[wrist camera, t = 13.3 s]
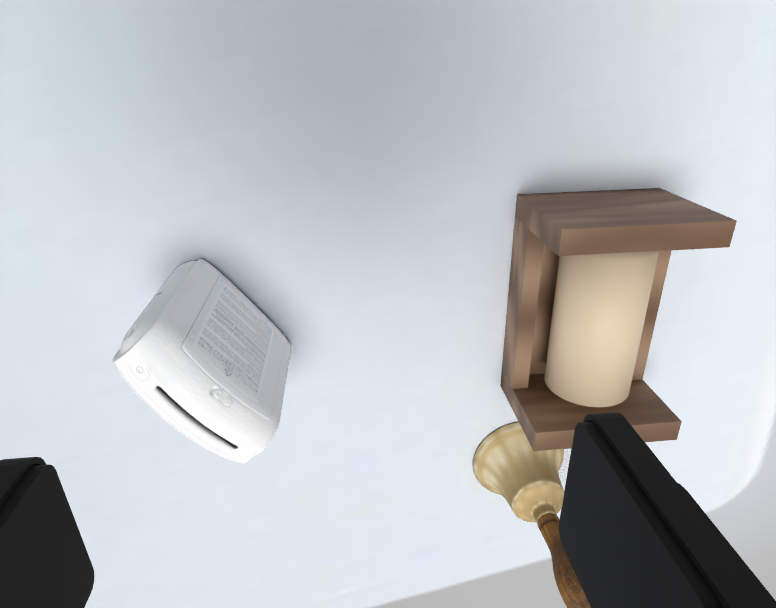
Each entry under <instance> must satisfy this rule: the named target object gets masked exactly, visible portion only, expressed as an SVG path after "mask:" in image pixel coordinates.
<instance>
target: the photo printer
mask: <svg viewBox="0 0 776 608" xmlns="http://www.w3.org/2000/svg"><path fill="white" fill-rule="evenodd" d="M290 353H291V346H290V344H289V342H288V341H287V339H286V338H285V336H284V335H283V334H282V333H281V332H280V330H279V329H278V328H277V327H276V326H275V325H274V324H273V323H272V322H271V321H270V320H269V319H268V318H267V317H266V316H265V315H264V314H263V313H262V312H261V311H260V310H259V309H258V308H257V307H256V306H255V305H254V304H253V303H252V302H251V301H250V300H249V299H248V298H247V297H246V296H245V295H244V294H243V293H241V292H240V291H239V290H238V289H237V288H236V287H235V286H234V285H233V284H232V283H231V282H230V281H229V280H228V279H227V278H226V277H225V276H223V275H222V274H221V273H220V272H219V271H218V270H217V269H215V268H214V267H213V266H212V265H210V264H209V263H208V262H206V261H205V260H203V259H199V260H198V261H188V262H185V263H183V264H181V265H180V266H178V267H177V268H176V269H175V270H174V271H173V272H172V274H171V275H170V276H169V278H168V279H167V280H166V282H165V283H164V284H163V285H162V287H161V288H160V289H159V291H158V292H157V293H156V295H155V296H154V297H153V299H152V300H151V301H150V303H149V304H148V305H147V307H146V308H145V309H144V311H143V312H142V313H141V315H140V316H139V317H138V319H137V320H136V321H135V323H134V324H133V325H132V327H131V328H130V329H129V331H128V332H127V333H126V335H125V337H124V339H123V341H122V344H121V348H120V349H119V350H118V352H117V353H116V355H115V356H114V358H113V361H112V362H113V364H114V366H115V367H116V369H117V370H118V372H119V373H120V375H121V376H122V378H123V379H124V380H125V382H126V383H127V384H128V385H129V386H130V388H131V389H132V390H133V391H134V392H135V393H136V394H137V395H138V396H139V397H140V398H141V399H142V400H143V401H144V402H145V403H146V404H147V405H148V406H149V407H150V408H151V409H152V410H153V411H154V412H155V413H157V414H158V415H159V416H160V417H161V418H162V419H164V420H165V421H166V422H167V423H168V424H170V425H171V426H172V427H173V428H175V429H176V430H177V431H179V432H180V433H182V434H183V435H184V436H186V437H187V438H189V439H190V440H192V441H193V442H195V443H196V444H198V445H199V446H201V447H203V448H204V449H206V450H208V451H210V452H212V453H214V454H216V455H218V456H220V457H222V458H225V459H227V460H230V461H234V462H237V463H247V462H248V461H249V460H250V459H251V458H252V457H254V456H255V455H257V454H259V453H261V452H262V451H263V450H264V449H265V448H266V446H267V445H268V444H269V442H270V441H271V439H272V437H273V436H274V434H275V432H276V430H277V428H278V425H279V421H280V415H281V409H282V402H283V396H284V389H285V383H286V377H287V371H288V365H289V359H290Z"/></svg>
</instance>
